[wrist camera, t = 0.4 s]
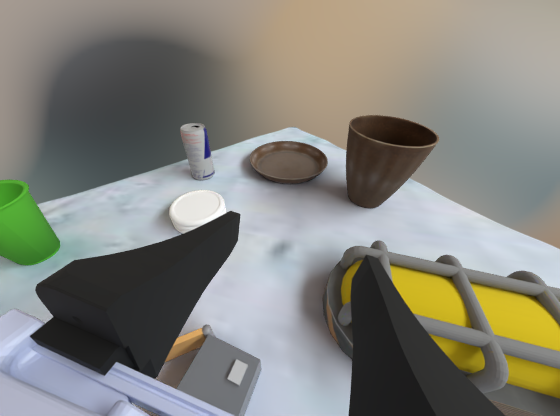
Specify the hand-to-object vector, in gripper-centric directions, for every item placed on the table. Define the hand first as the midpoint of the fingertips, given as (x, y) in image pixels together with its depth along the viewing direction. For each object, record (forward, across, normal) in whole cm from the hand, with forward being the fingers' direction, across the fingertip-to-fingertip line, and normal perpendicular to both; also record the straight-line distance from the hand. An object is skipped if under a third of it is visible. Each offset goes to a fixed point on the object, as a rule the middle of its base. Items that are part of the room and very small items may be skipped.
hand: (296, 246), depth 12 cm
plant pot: (+37, -12, +13) cm, 41 cm away
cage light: (+11, -21, +16) cm, 29 cm away
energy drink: (+34, +27, +18) cm, 47 cm away
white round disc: (+20, +20, +19) cm, 34 cm away
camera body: (-3, +3, +21) cm, 21 cm away
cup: (+5, +39, +23) cm, 46 cm away
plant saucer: (+45, +8, +14) cm, 48 cm away
